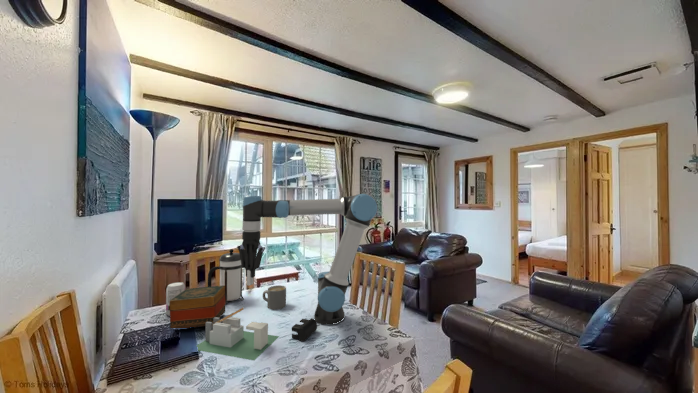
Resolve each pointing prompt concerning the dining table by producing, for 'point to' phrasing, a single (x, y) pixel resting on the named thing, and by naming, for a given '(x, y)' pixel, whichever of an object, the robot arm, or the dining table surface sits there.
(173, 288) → the supplement can
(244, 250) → the robot arm
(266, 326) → the cream white stepped block
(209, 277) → the coffee press
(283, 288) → the coffee mug
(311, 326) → the end cap
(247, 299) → the dining table surface
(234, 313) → the golden metal bar
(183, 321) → the decorative box
